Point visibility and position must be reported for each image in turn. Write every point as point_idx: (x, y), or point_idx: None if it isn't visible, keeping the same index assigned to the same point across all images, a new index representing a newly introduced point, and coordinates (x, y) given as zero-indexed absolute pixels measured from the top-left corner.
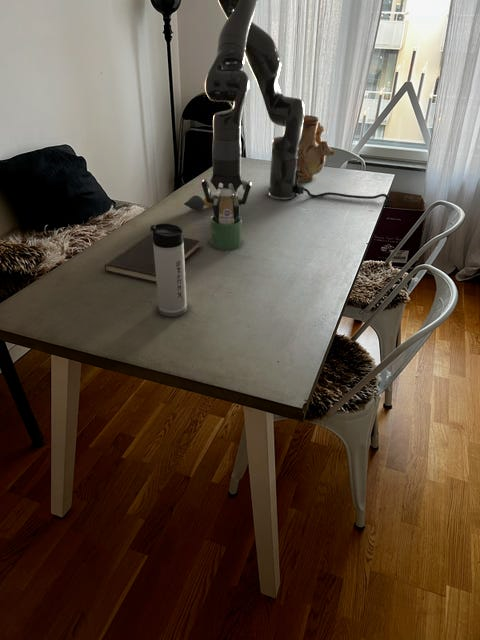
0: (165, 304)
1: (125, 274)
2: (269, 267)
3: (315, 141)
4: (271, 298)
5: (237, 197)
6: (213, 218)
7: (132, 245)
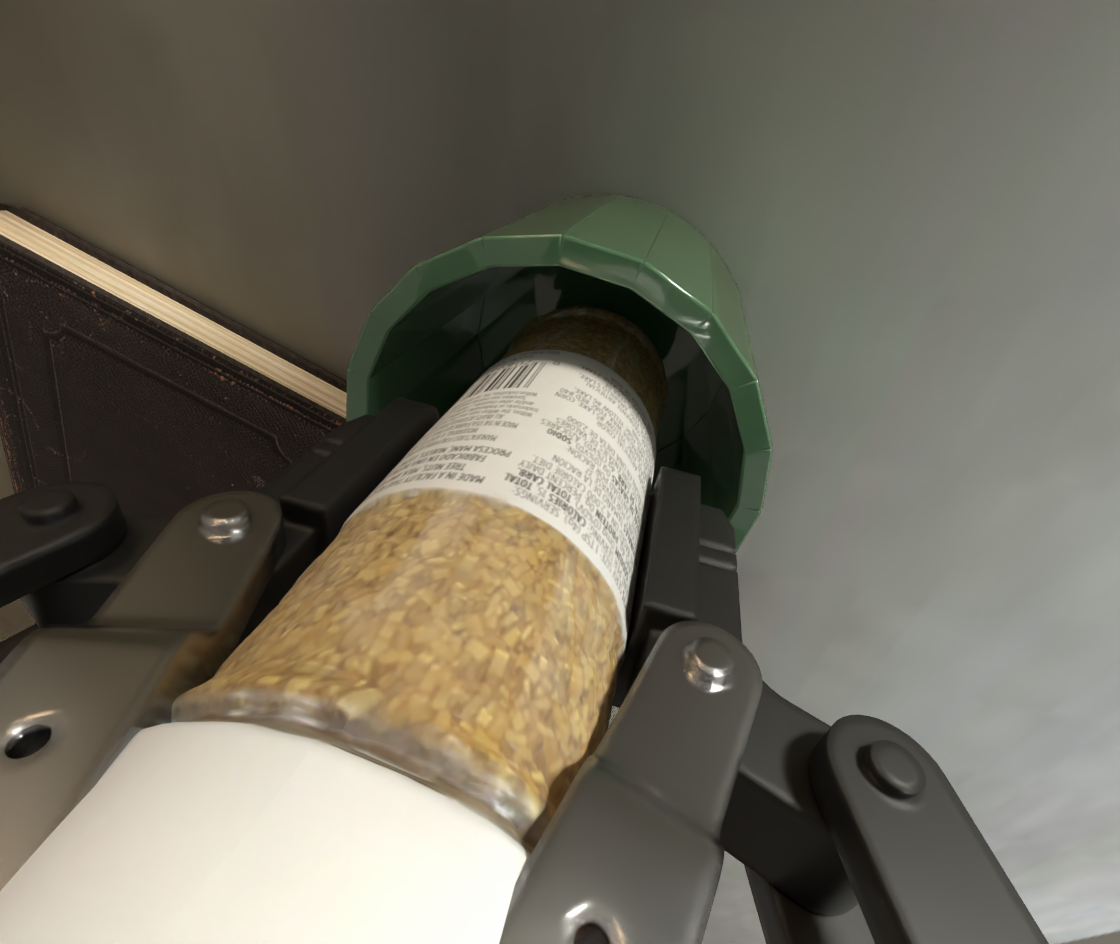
0: None
1: None
2: (832, 704)
3: None
4: (733, 859)
5: (692, 798)
6: (382, 364)
7: (5, 451)
